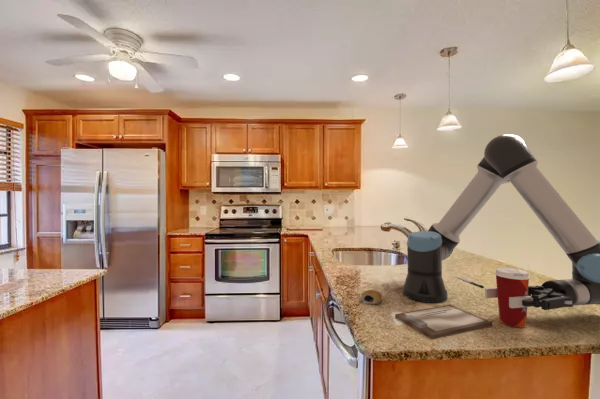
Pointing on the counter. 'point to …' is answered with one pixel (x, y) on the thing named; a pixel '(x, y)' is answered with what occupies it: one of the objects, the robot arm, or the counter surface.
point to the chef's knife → (470, 282)
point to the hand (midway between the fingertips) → (497, 297)
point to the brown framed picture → (442, 321)
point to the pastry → (371, 297)
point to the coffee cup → (511, 295)
